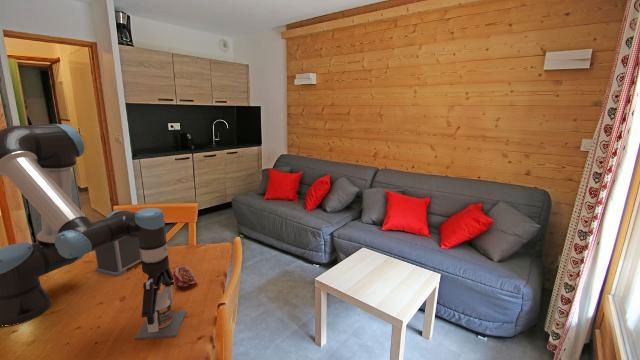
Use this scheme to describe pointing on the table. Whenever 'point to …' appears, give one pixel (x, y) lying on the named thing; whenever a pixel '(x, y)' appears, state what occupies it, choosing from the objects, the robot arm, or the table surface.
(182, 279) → the flower
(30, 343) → the table surface
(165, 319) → the pill bottle
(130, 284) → the table surface
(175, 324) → the slate coaster
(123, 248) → the grey box
